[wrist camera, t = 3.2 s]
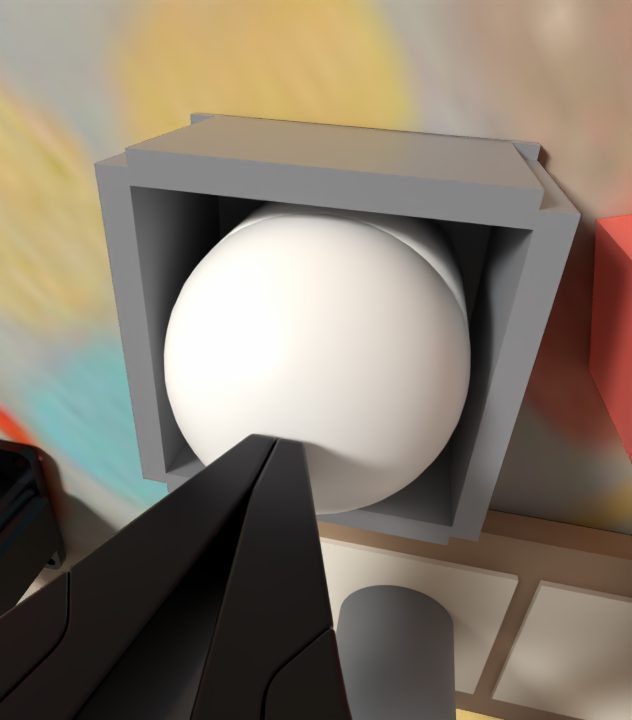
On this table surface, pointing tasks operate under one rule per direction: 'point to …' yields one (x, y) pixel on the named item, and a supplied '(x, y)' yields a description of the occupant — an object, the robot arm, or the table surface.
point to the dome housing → (354, 192)
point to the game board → (513, 610)
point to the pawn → (396, 655)
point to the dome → (324, 346)
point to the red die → (613, 322)
